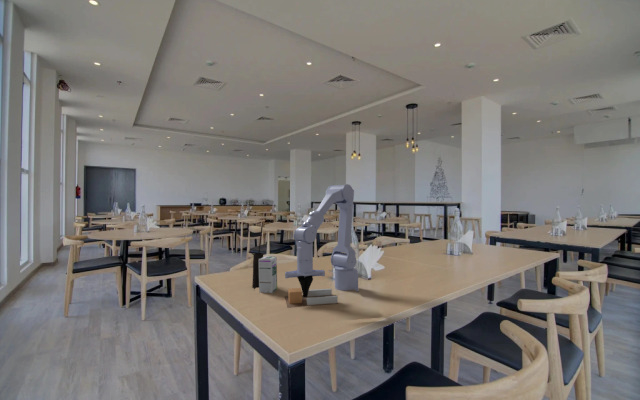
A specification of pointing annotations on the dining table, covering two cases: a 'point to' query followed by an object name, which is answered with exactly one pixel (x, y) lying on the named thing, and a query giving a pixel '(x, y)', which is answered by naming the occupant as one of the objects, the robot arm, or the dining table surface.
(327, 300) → the trough walls
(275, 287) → the syrup box
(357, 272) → the robot arm
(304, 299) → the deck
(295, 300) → the block
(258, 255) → the butter churn
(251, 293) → the dining table surface
